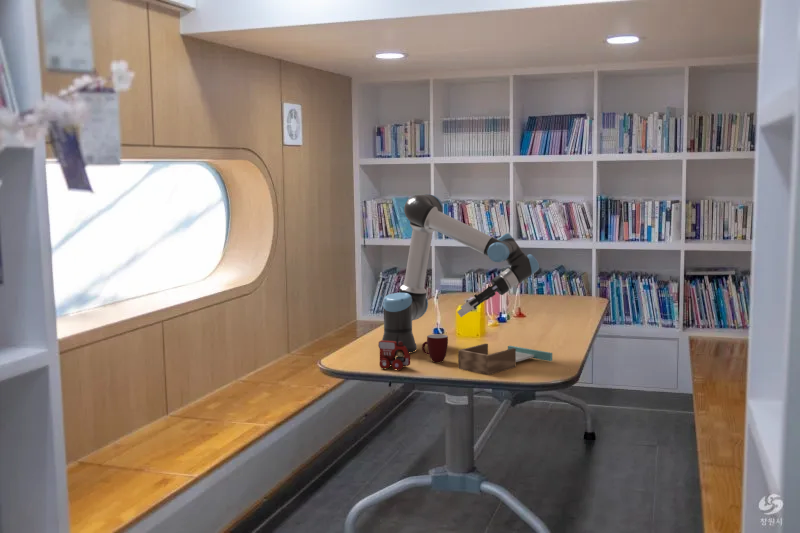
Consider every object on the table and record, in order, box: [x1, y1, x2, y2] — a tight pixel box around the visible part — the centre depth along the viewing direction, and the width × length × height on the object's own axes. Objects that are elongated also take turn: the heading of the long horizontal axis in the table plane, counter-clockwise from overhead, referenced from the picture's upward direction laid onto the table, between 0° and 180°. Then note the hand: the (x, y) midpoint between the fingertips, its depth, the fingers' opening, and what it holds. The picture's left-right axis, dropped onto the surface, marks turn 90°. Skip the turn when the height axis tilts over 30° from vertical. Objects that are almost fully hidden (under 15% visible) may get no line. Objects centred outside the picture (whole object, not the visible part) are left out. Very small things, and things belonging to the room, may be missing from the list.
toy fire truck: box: [378, 339, 411, 371], centre depth 300 cm, size 7×12×10 cm, turn 68°
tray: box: [507, 345, 553, 363], centre depth 307 cm, size 20×16×3 cm
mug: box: [421, 333, 449, 363], centre depth 309 cm, size 10×8×10 cm
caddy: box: [457, 343, 517, 376], centre depth 298 cm, size 14×16×7 cm
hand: (460, 312), depth 315 cm, fingers open, 13 cm apart
